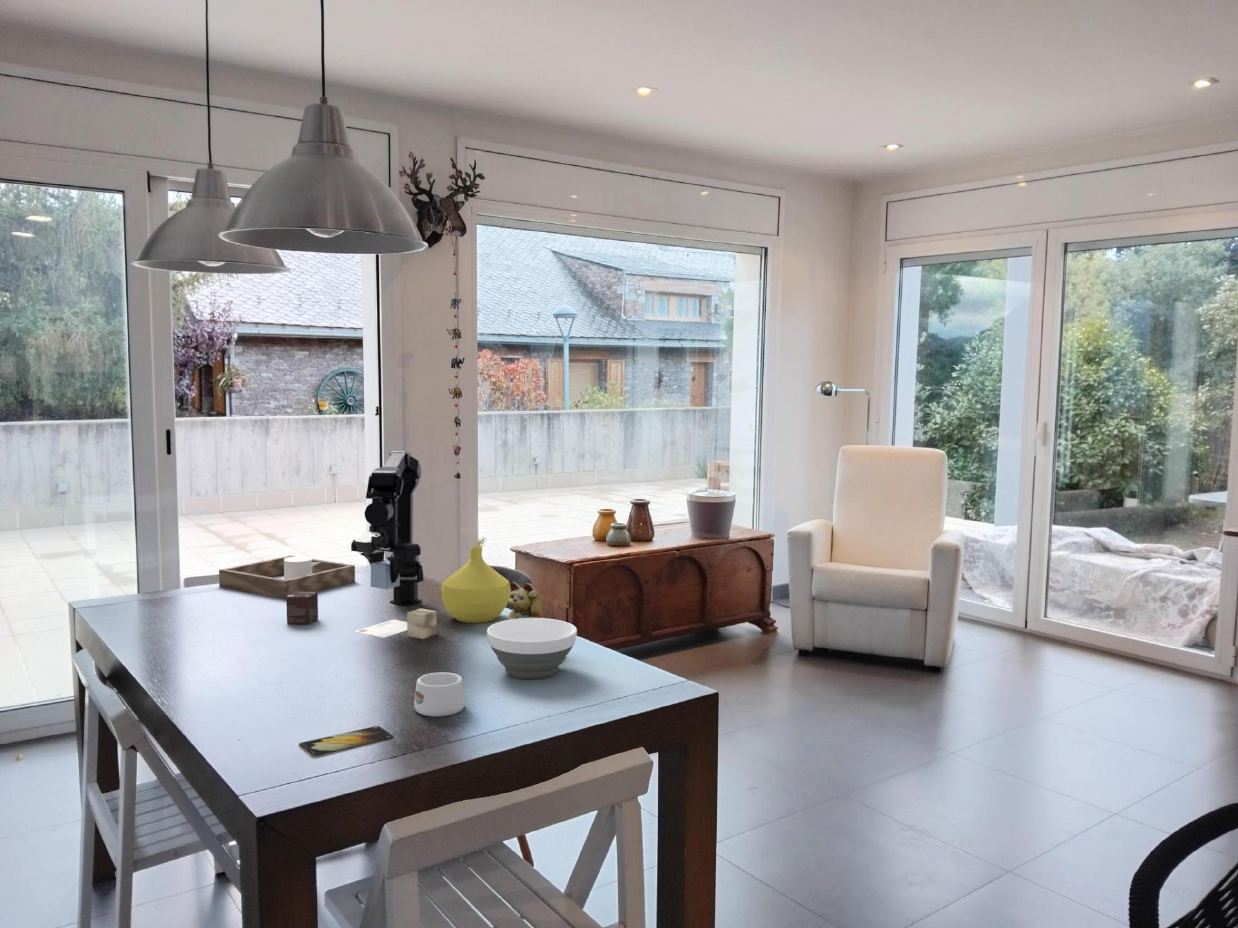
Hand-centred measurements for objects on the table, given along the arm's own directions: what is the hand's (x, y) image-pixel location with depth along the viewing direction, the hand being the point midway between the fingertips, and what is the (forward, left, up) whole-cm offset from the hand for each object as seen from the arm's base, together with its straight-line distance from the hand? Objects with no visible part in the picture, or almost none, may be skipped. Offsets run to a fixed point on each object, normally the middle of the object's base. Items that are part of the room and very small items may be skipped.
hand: (385, 581), depth 240 cm
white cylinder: (-23, -57, -13) cm, 63 cm away
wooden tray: (-21, -59, -12) cm, 64 cm away
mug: (+37, +48, -12) cm, 62 cm away
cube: (0, 0, -1) cm, 1 cm away
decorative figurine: (-9, +37, -12) cm, 40 cm away
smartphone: (+59, +46, -13) cm, 76 cm away
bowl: (+9, +51, -12) cm, 53 cm away
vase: (-20, +13, -12) cm, 27 cm away
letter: (0, +1, -12) cm, 12 cm away
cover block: (0, +12, -12) cm, 17 cm away
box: (+7, -22, -12) cm, 26 cm away
